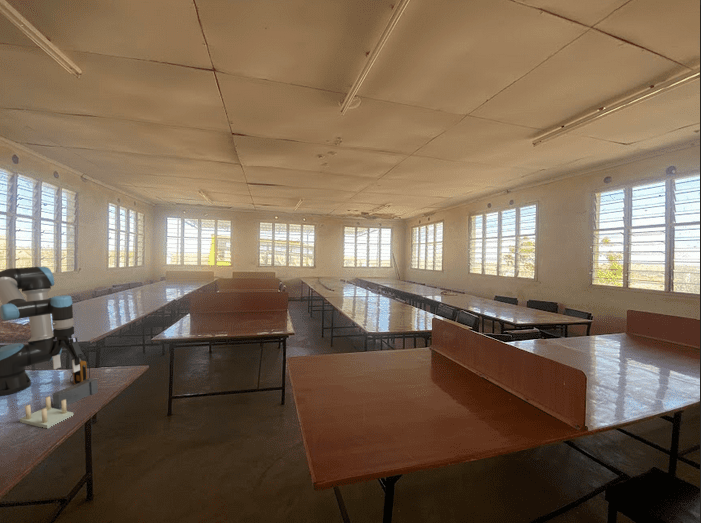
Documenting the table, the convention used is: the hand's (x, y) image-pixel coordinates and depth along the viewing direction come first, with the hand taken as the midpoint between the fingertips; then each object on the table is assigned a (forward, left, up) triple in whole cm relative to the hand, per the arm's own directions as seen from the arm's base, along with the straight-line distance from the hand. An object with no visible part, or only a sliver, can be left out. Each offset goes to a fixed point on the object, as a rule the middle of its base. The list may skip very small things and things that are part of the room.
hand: (66, 369), depth 152 cm
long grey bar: (+1, +3, -17) cm, 17 cm away
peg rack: (+7, -13, -17) cm, 22 cm away
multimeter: (-14, +19, -17) cm, 29 cm away
